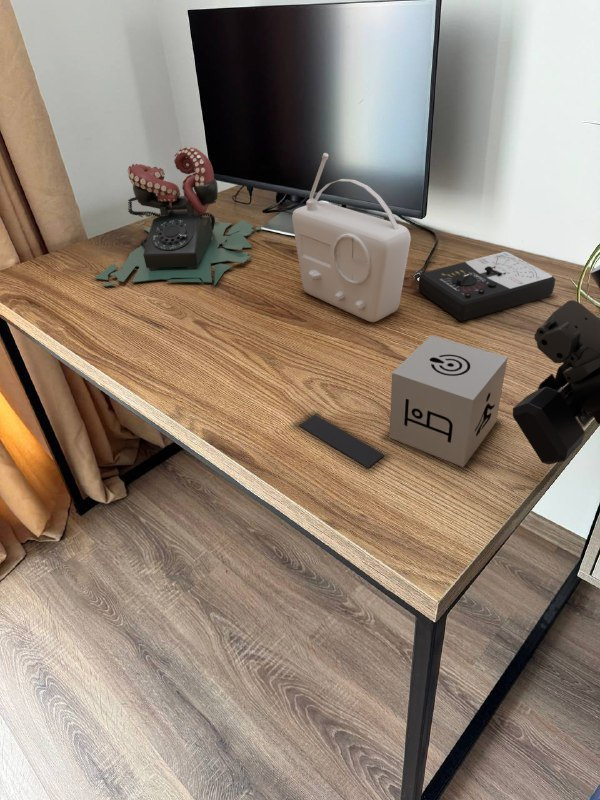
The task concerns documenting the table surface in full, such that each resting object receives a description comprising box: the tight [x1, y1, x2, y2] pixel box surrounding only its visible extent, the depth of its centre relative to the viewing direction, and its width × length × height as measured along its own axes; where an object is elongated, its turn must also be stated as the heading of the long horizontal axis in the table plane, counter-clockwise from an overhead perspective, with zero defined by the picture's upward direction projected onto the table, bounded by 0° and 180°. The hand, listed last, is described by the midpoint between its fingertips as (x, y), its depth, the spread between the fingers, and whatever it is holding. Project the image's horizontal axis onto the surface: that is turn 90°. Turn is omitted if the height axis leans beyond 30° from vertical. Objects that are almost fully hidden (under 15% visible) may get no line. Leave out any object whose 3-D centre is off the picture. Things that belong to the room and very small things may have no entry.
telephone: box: [94, 146, 262, 287], centre depth 122 cm, size 35×32×20 cm
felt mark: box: [298, 414, 385, 469], centre depth 75 cm, size 12×3×1 cm, turn 44°
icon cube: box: [389, 334, 509, 468], centre depth 72 cm, size 10×10×10 cm
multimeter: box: [418, 251, 556, 322], centre depth 102 cm, size 13×19×5 cm
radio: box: [291, 152, 412, 323], centre depth 97 cm, size 22×8×25 cm, turn 42°
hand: (518, 413), depth 65 cm, fingers closed
